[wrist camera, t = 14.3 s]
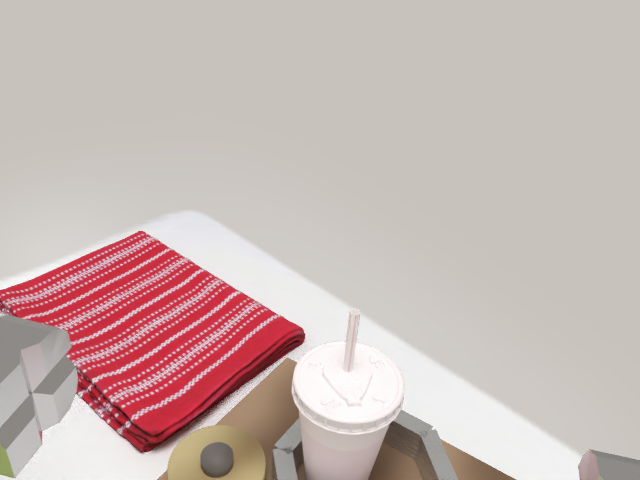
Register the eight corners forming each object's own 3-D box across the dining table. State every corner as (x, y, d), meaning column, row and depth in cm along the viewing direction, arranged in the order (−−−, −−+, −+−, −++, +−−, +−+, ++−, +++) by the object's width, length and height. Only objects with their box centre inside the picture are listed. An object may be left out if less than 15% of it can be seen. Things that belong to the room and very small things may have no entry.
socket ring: (239, 508, 37) (239, 482, 36) (334, 400, 45) (337, 376, 44) (397, 619, 32) (404, 594, 31) (472, 475, 40) (480, 451, 39)
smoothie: (373, 441, 42) (401, 280, 34) (394, 528, 37) (433, 359, 29) (281, 447, 41) (290, 282, 33) (289, 536, 36) (302, 364, 28)
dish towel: (150, 469, 41) (146, 444, 39) (-16, 313, 53) (-23, 289, 52) (312, 346, 52) (314, 323, 51) (145, 241, 64) (143, 220, 63)
